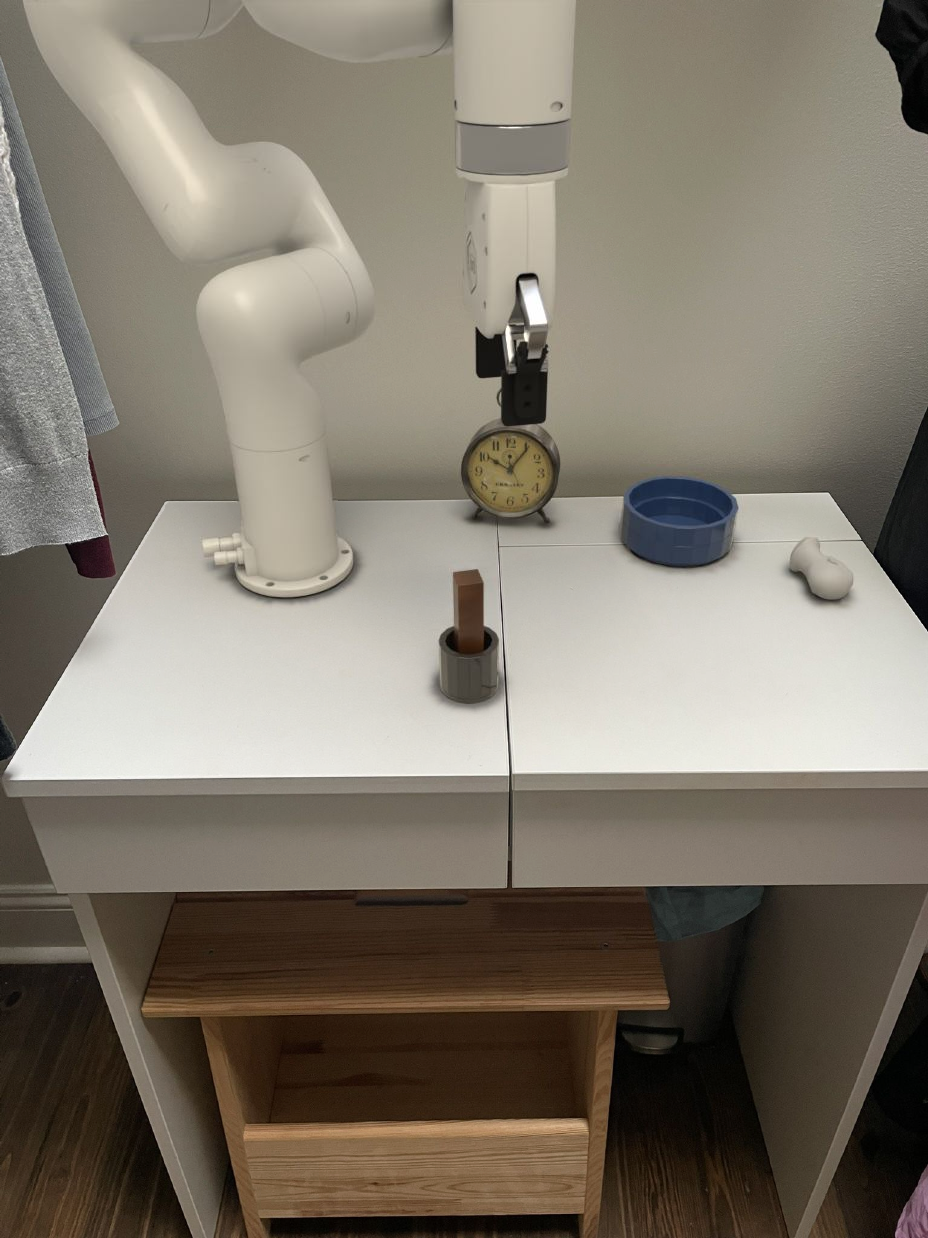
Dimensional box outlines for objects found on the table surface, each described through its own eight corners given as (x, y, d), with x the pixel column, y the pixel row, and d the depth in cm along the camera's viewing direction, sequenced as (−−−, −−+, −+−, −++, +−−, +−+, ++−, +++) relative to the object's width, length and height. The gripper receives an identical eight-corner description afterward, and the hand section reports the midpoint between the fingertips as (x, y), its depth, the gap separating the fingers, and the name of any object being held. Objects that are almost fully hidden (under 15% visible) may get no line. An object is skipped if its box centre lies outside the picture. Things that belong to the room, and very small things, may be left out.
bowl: (643, 575, 100) (648, 534, 97) (605, 521, 110) (608, 482, 107) (750, 561, 102) (757, 520, 99) (703, 509, 112) (709, 470, 109)
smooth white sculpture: (851, 614, 96) (808, 605, 94) (817, 571, 102) (777, 562, 101) (873, 579, 93) (829, 569, 92) (837, 537, 100) (796, 528, 98)
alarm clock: (460, 524, 109) (458, 390, 100) (468, 502, 114) (467, 372, 105) (555, 531, 108) (562, 395, 99) (559, 509, 112) (566, 376, 103)
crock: (446, 707, 83) (445, 661, 80) (435, 671, 87) (433, 627, 84) (504, 698, 83) (505, 653, 81) (490, 663, 88) (490, 619, 85)
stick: (459, 689, 84) (457, 585, 77) (454, 675, 86) (452, 571, 79) (483, 686, 84) (484, 582, 78) (478, 671, 86) (478, 568, 80)
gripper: (436, 133, 69) (442, 363, 78) (481, 176, 55) (482, 449, 64) (536, 129, 70) (530, 357, 79) (606, 170, 56) (588, 440, 65)
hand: (508, 398), depth 72 cm, fingers open, 9 cm apart
